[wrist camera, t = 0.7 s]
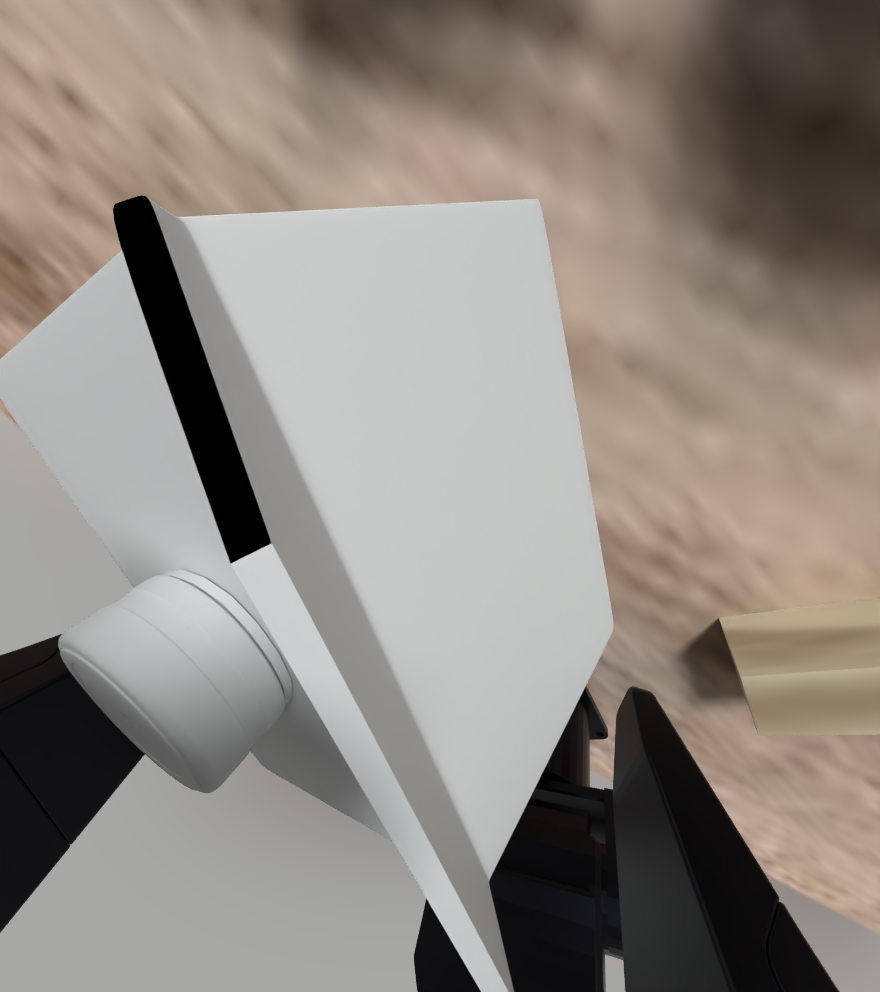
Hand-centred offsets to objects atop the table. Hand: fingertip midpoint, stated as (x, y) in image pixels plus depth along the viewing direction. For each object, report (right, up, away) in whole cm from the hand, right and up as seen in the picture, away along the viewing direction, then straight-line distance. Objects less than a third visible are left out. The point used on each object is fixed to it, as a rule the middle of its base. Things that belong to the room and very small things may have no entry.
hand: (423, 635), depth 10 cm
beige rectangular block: (+21, -3, +11) cm, 23 cm away
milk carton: (-3, +8, +11) cm, 14 cm away
